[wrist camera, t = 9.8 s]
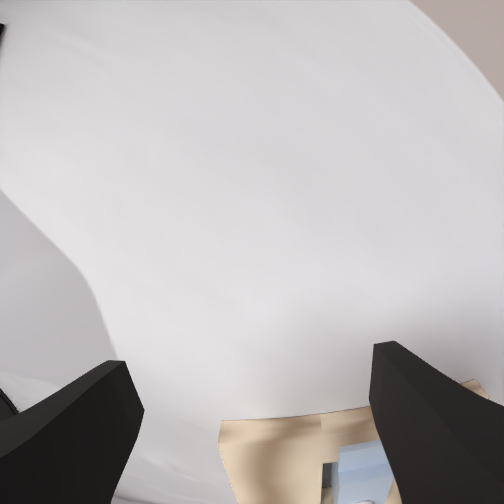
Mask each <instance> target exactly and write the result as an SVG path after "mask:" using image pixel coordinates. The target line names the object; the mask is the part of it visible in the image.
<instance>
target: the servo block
mask: <svg viewBox="0 0 504 504" xmlns="http://www.w3.org/2000/svg"><path fill="white" fill-rule="evenodd" d="M393 479H394V476H393V473H392V470H391V467H390V465H389V462H388V459H387V456H386V454H385V451H384V448H383V446H382V443H381V440H375V441H370V442H365V443H359V444H354V445H348V446H342V447H339V450H338V462H332V467H331V486H332V494H333V504H384V503H385V501H386V498H387V496H388V493H389V490H390V488H391V485H392V482H393Z"/></svg>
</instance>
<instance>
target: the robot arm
mask: <svg viewBox="0 0 504 504" xmlns="http://www.w3.org/2000/svg"><path fill="white" fill-rule="evenodd" d="M369 401H370V406H371V410H372V414H373V419H374V423H375V427H376V430H377V432H378V435H379V438H380V440H381V443H382V446H383V448H384V451H385V454H386V456H387V459H388V462H389V465H390V467H391V470H392V473H393V476H394V478H395V481H396V484H397V487H398V490H399V494H400V497H401V502H402V504H504V406H502V405H499V404H497V403H495V402H493V401H491V400H488V399H486V398H484V397H482V396H480V395H478V394H476V393H475V392H473V391H471V390H469V389H468V388H466V387H464V386H462V385H460V384H459V383H457V382H455V381H454V380H452V379H451V378H449V377H447V376H446V375H444V374H443V373H441V372H440V371H438V370H437V369H435V368H434V367H432V366H431V365H429V364H428V363H426V362H425V361H423V360H422V359H420V358H419V357H418V356H416V355H415V354H413V353H412V352H410V351H409V350H408V349H406V348H405V347H403V346H402V345H400V344H399V343H397V342H395V341H389V342H384V343H378V344H374V348H373V361H372V373H371V383H370V392H369ZM143 414H144V408H143V405H142V403H141V401H140V398H139V396H138V393H137V391H136V389H135V386H134V384H133V381H132V378H131V376H130V373H129V371H128V368H127V365H126V363H125V361H114V360H108V361H106V362H104V363H102V364H100V365H99V366H97V367H95V368H93V369H92V370H90V371H89V372H87V373H85V374H84V375H82V376H81V377H79V378H78V379H76V380H75V381H73V382H72V383H70V384H68V385H67V386H65V387H64V388H62V389H60V390H59V391H57V392H56V393H54V394H52V395H51V396H49V397H47V398H46V399H44V400H42V401H41V402H39V403H37V404H35V405H34V406H32V407H30V408H28V409H26V410H25V411H23V412H21V413H19V414H17V415H14V416H12V417H10V418H8V419H6V420H3V421H1V422H0V504H111V500H112V497H113V494H114V492H115V489H116V487H117V484H118V482H119V480H120V477H121V475H122V472H123V470H124V468H125V466H126V463H127V461H128V459H129V456H130V454H131V452H132V449H133V447H134V444H135V442H136V440H137V437H138V434H139V430H140V427H141V423H142V418H143Z"/></svg>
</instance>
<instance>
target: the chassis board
mask: <svg viewBox="0 0 504 504" xmlns="http://www.w3.org/2000/svg"><path fill="white" fill-rule="evenodd" d="M460 385H462V386H464V387H466V388H468V389H469V390H471V391H473V392H475V393H476V394H478V395H480V396H482V397H484V398H486V399H488V400H489V396H488V395H487V394H486V392H485V391H484V390H483V388H482V387H481V386H480V384H479V383H478V382H477V381H476V379H474V380H471V381H468V382H465V383H462V384H460ZM375 440H380V438H379V435H378V432H377V430H376V427H375V423H374V419H373V414H372V410H371V406H369V407H364V408H358V409H352V410H345V411H339V412H332V413H324V414H316V415H307V416H297V417H286V418H273V419H256V420H222V422H221V428H220V433H219V438H218V443H217V446H218V449H219V452H220V455H221V458H222V461H223V464H224V467H225V470H226V473H227V476H228V478H229V481H230V484H231V487H232V489H233V492H234V495H235V497H236V500H237V503H238V504H333V494H332V487H324V488H321V487H322V468H323V464H324V463H331V462H338V450H339V447H342V446H348V445H354V444H359V443H365V442H370V441H375ZM384 504H402V502H401V497H400V494H399V490H398V487H397V484H396V481H395V478H394V479H393V482H392V485H391V488H390V490H389V493H388V496H387V498H386V501H385V503H384Z"/></svg>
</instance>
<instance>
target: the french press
mask: <svg viewBox="0 0 504 504" xmlns="http://www.w3.org/2000/svg"><path fill="white" fill-rule="evenodd" d="M17 414H19V413H18V412H17V410H16V408H15V407H14V405H13V404H12V403H11V401H10V400H9V399H8V397H7V396H6V395H5V394H4V393H3V392H2V390H1V389H0V422H1V421H3V420H6V419H8V418H10V417H12V416H14V415H17Z"/></svg>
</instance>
